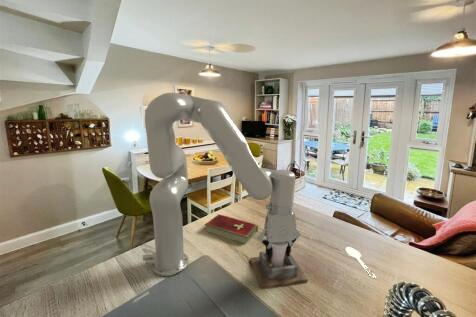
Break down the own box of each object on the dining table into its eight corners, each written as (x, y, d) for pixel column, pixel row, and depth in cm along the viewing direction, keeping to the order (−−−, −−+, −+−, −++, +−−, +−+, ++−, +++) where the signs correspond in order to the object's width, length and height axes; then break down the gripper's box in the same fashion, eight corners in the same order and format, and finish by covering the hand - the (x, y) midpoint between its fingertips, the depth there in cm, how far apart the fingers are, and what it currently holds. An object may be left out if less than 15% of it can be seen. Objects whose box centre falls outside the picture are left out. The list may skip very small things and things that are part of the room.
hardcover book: (218, 220, 117) (219, 213, 116) (257, 232, 108) (258, 223, 107) (204, 232, 107) (204, 223, 106) (246, 245, 98) (246, 236, 97)
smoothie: (286, 272, 79) (289, 235, 75) (267, 269, 80) (269, 233, 77) (286, 260, 85) (288, 225, 82) (268, 258, 86) (270, 223, 83)
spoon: (366, 279, 80) (367, 278, 80) (341, 247, 98) (342, 246, 97) (382, 279, 80) (382, 278, 80) (354, 247, 98) (354, 246, 98)
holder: (261, 288, 75) (262, 276, 74) (250, 260, 88) (250, 249, 87) (307, 281, 78) (308, 270, 77) (289, 255, 91) (290, 245, 90)
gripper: (259, 214, 72) (257, 265, 76) (310, 210, 76) (305, 259, 80) (253, 204, 79) (251, 251, 83) (300, 201, 83) (296, 246, 87)
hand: (277, 254), depth 82 cm, fingers closed on smoothie, 5 cm apart
